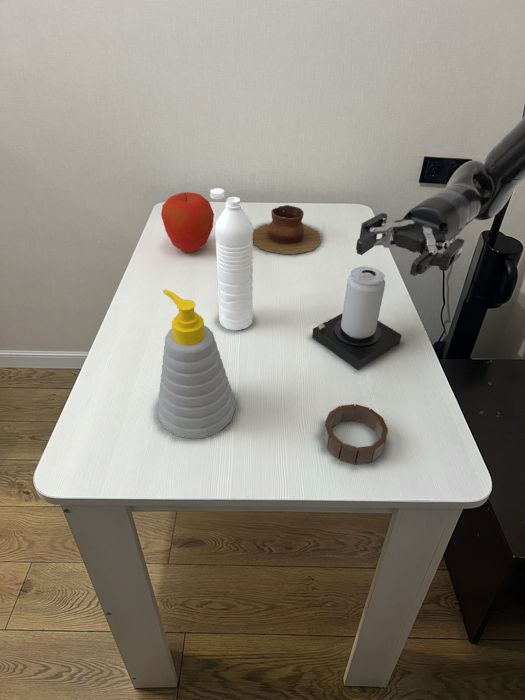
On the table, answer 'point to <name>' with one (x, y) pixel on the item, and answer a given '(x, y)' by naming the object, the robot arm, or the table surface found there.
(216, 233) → the water bottle
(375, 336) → the hot plate
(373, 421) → the can holder
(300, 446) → the table surface
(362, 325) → the beverage can
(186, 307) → the soap bottle
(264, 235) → the ceramic pot
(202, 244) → the apple
